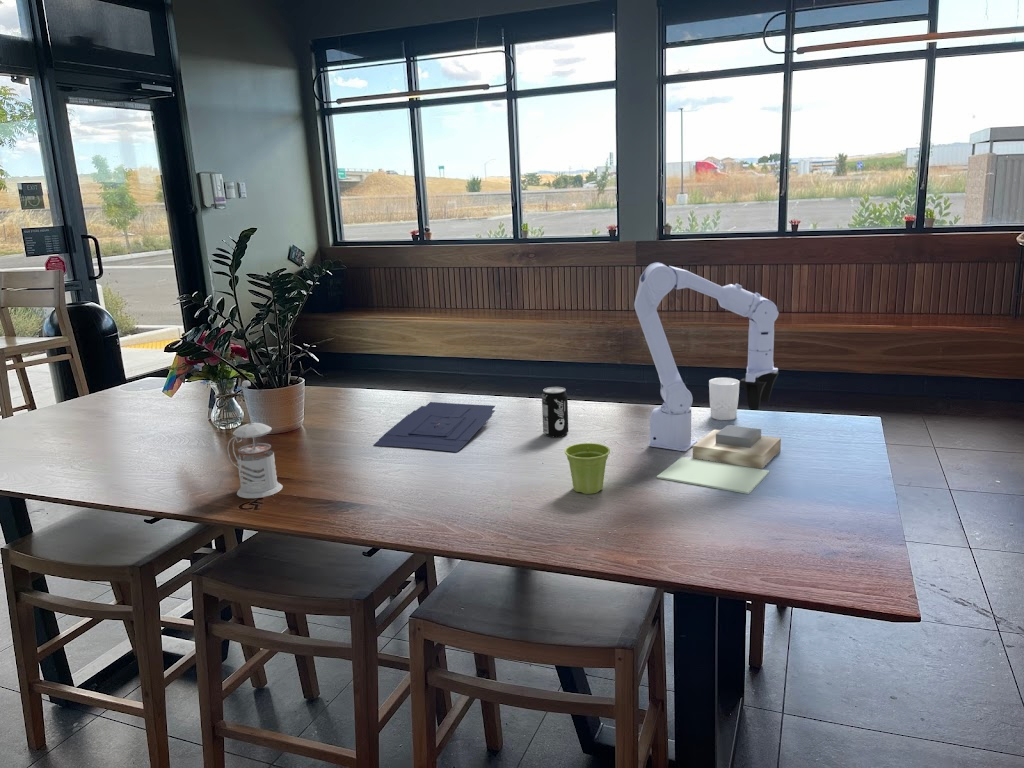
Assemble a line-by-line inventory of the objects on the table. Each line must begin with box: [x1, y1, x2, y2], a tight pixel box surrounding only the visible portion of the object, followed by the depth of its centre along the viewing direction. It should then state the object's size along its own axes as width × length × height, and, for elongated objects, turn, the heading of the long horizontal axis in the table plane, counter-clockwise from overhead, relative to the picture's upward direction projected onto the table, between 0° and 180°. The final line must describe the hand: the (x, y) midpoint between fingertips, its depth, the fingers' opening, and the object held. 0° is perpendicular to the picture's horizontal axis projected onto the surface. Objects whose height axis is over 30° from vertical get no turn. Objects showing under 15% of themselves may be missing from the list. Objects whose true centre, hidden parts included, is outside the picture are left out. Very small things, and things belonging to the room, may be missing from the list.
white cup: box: [708, 377, 741, 421], centre depth 209 cm, size 8×8×10 cm
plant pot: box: [564, 442, 611, 495], centre depth 162 cm, size 9×9×9 cm
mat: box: [656, 456, 770, 495], centre depth 168 cm, size 20×14×1 cm
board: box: [692, 428, 782, 470], centre depth 180 cm, size 16×14×3 cm
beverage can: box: [541, 386, 569, 438], centre depth 200 cm, size 7×7×12 cm
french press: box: [226, 379, 283, 499], centre depth 170 cm, size 10×12×25 cm
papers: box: [373, 401, 496, 453], centre depth 208 cm, size 24×30×4 cm
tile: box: [716, 424, 762, 448], centre depth 180 cm, size 8×8×2 cm
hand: (758, 405), depth 185 cm, fingers open, 7 cm apart
